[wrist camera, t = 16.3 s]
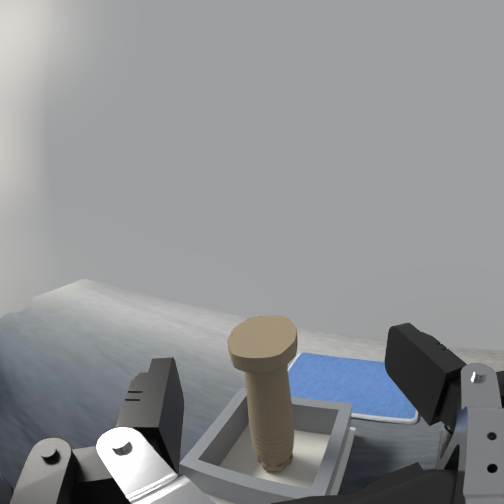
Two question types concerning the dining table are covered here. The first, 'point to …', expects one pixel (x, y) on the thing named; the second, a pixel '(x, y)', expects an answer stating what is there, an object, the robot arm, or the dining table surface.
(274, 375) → the handle
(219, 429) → the open box
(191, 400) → the dining table surface
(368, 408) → the tablet computer
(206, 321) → the dining table surface
